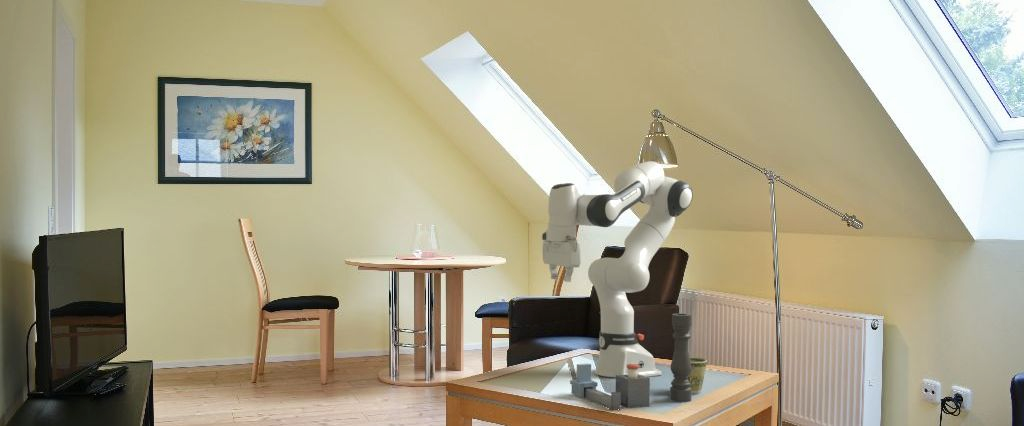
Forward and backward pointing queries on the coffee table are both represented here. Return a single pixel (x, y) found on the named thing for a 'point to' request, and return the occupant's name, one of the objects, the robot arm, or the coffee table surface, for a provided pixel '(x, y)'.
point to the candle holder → (681, 358)
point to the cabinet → (633, 390)
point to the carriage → (582, 380)
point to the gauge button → (632, 370)
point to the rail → (602, 397)
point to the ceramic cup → (697, 374)
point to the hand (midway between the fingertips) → (560, 280)
